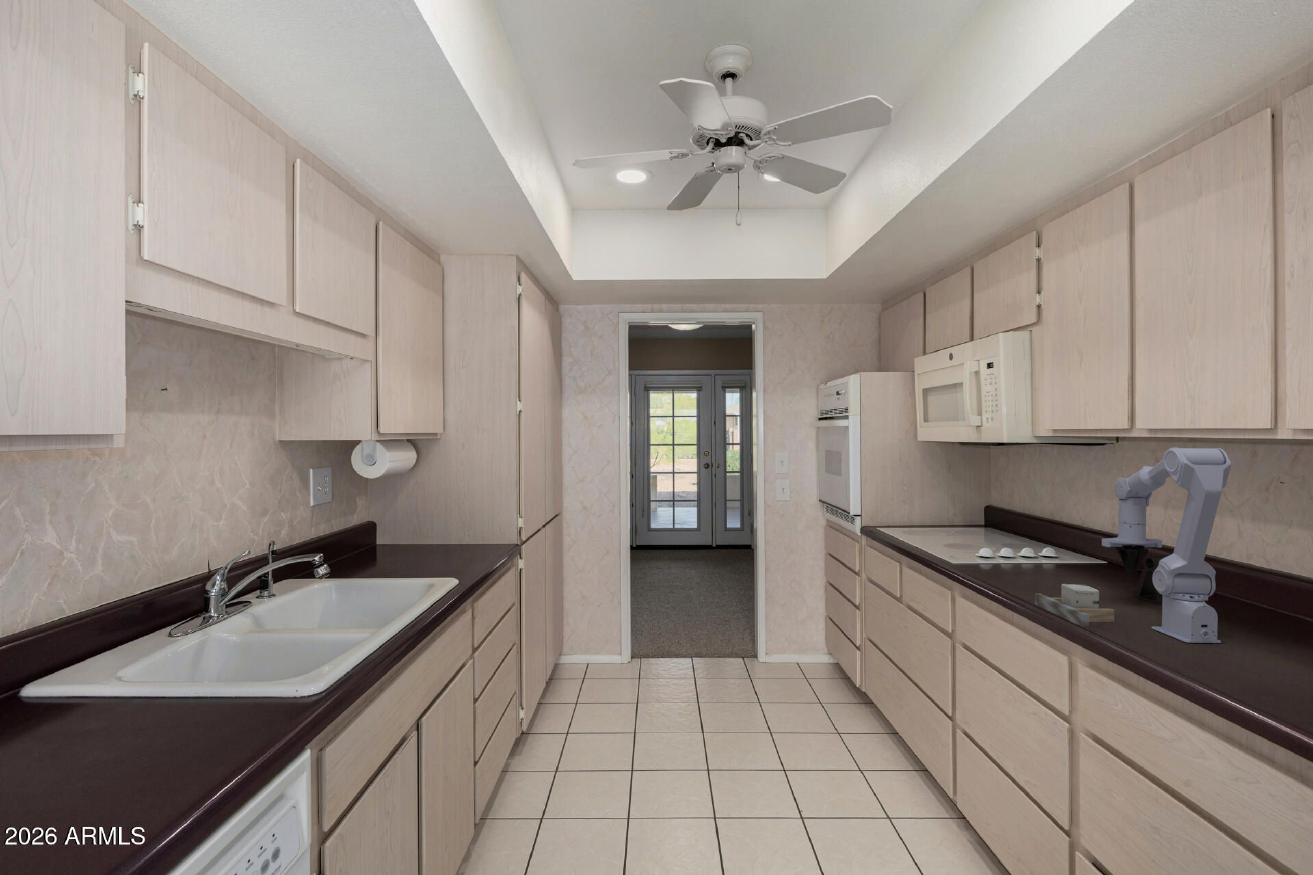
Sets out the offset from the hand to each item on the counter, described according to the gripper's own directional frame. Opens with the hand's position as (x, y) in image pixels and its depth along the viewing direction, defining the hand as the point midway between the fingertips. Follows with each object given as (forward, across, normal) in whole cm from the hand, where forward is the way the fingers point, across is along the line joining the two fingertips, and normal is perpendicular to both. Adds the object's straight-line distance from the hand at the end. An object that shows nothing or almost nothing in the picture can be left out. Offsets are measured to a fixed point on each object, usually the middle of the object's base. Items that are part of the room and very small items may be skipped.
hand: (1131, 573), depth 155 cm
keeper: (+9, +18, +6) cm, 21 cm away
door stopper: (+10, -14, -8) cm, 19 cm away
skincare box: (+10, +18, +6) cm, 21 cm away
